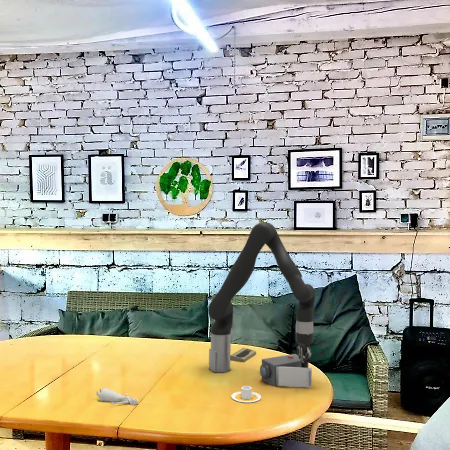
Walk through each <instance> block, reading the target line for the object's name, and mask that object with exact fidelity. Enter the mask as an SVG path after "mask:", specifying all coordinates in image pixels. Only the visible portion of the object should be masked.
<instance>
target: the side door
mask: <svg viewBox="0 0 450 450" xmlns="http://www.w3.org/2000/svg"><path fill="white" fill-rule="evenodd" d="M312 371H313V368H312V367H308V368H300V367H278V366H276V386H275V387H279V386H280V387H292V388H293V387H297V388H312V380H313V378H312V375H313V374H312V373H313V372H312Z"/></svg>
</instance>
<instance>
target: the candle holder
mask: <svg viewBox="0 0 450 450" xmlns="http://www.w3.org/2000/svg"><path fill="white" fill-rule="evenodd" d="M252 388H253V387H251V386H249V385H243V386H241V389H240V391H235V392H234V393H232V394H231V399H232V400H234V401H236V402H239V403H255V402H258V401H259V400H261V399H262V396H261V394H260V393H257V392H254V391H253V389H252ZM238 394H239V395H240V396H241V399H244V400H241V399H237V398H236V397H237V396H239V395H238ZM253 394H254V395H253ZM255 395H256V399H255V400H250V398H251V399H252V397H253V396H255ZM246 400H248V401H246Z"/></svg>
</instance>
